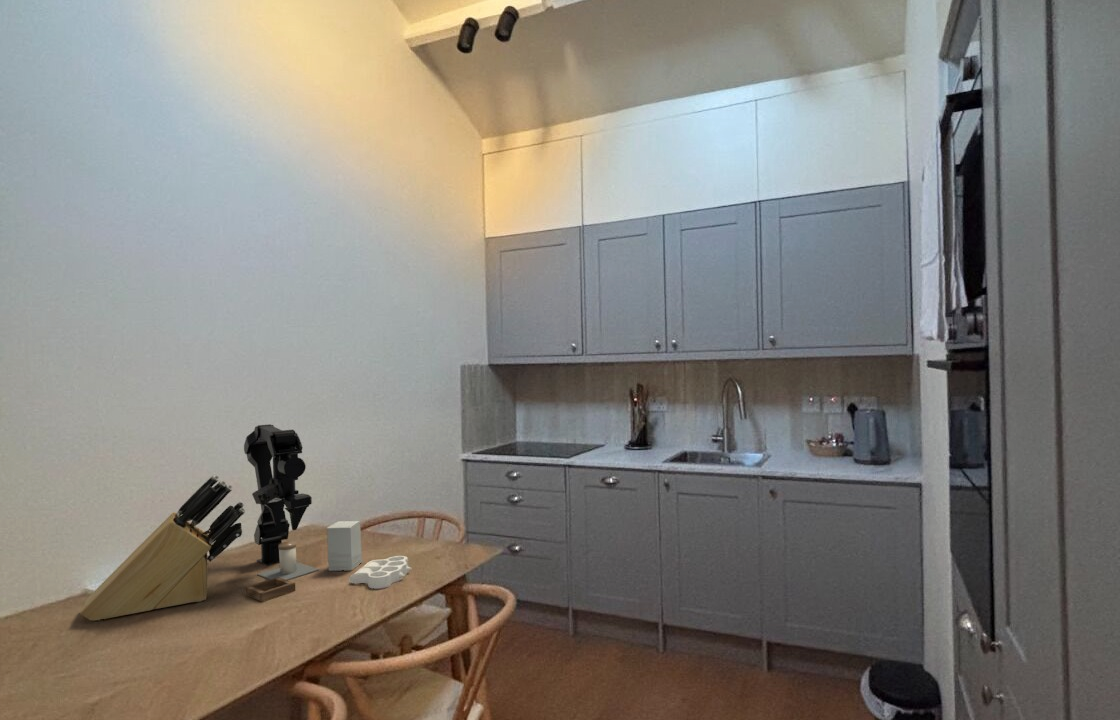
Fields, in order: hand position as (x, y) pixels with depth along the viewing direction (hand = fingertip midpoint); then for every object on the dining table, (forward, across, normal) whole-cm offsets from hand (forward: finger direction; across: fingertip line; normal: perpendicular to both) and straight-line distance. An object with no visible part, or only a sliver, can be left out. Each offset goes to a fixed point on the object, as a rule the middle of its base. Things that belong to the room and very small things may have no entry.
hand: (285, 527), depth 176 cm
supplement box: (+13, +10, +12) cm, 21 cm away
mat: (+13, 0, 0) cm, 13 cm away
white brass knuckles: (+14, +27, +13) cm, 33 cm away
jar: (+13, 0, 0) cm, 13 cm away
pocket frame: (+13, +11, -11) cm, 20 cm away
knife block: (+13, -6, -28) cm, 32 cm away
